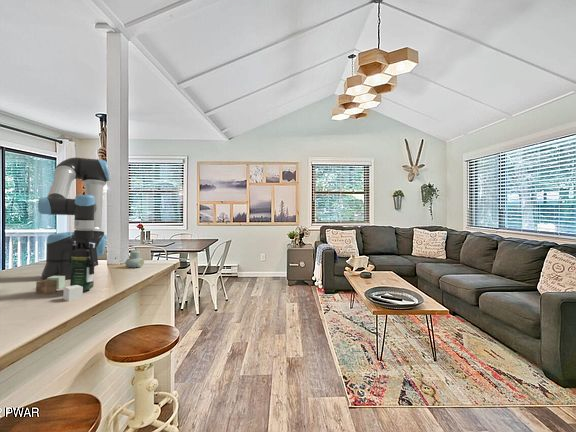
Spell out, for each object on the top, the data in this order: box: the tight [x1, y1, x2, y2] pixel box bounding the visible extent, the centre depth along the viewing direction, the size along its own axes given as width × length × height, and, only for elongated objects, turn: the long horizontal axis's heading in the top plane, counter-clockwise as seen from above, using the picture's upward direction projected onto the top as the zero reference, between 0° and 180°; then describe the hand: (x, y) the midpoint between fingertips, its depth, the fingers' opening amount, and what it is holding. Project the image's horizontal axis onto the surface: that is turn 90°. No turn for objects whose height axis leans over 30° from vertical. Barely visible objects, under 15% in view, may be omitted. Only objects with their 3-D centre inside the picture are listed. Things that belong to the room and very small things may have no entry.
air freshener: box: [124, 250, 145, 269], centre depth 209 cm, size 11×8×10 cm
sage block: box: [47, 276, 66, 290], centre depth 151 cm, size 5×5×5 cm
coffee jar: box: [69, 248, 95, 292], centre depth 147 cm, size 10×8×19 cm
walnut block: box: [35, 279, 57, 295], centre depth 143 cm, size 5×5×5 cm
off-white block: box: [62, 285, 84, 302], centre depth 134 cm, size 5×5×5 cm
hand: (82, 280), depth 147 cm, fingers closed on coffee jar, 9 cm apart
